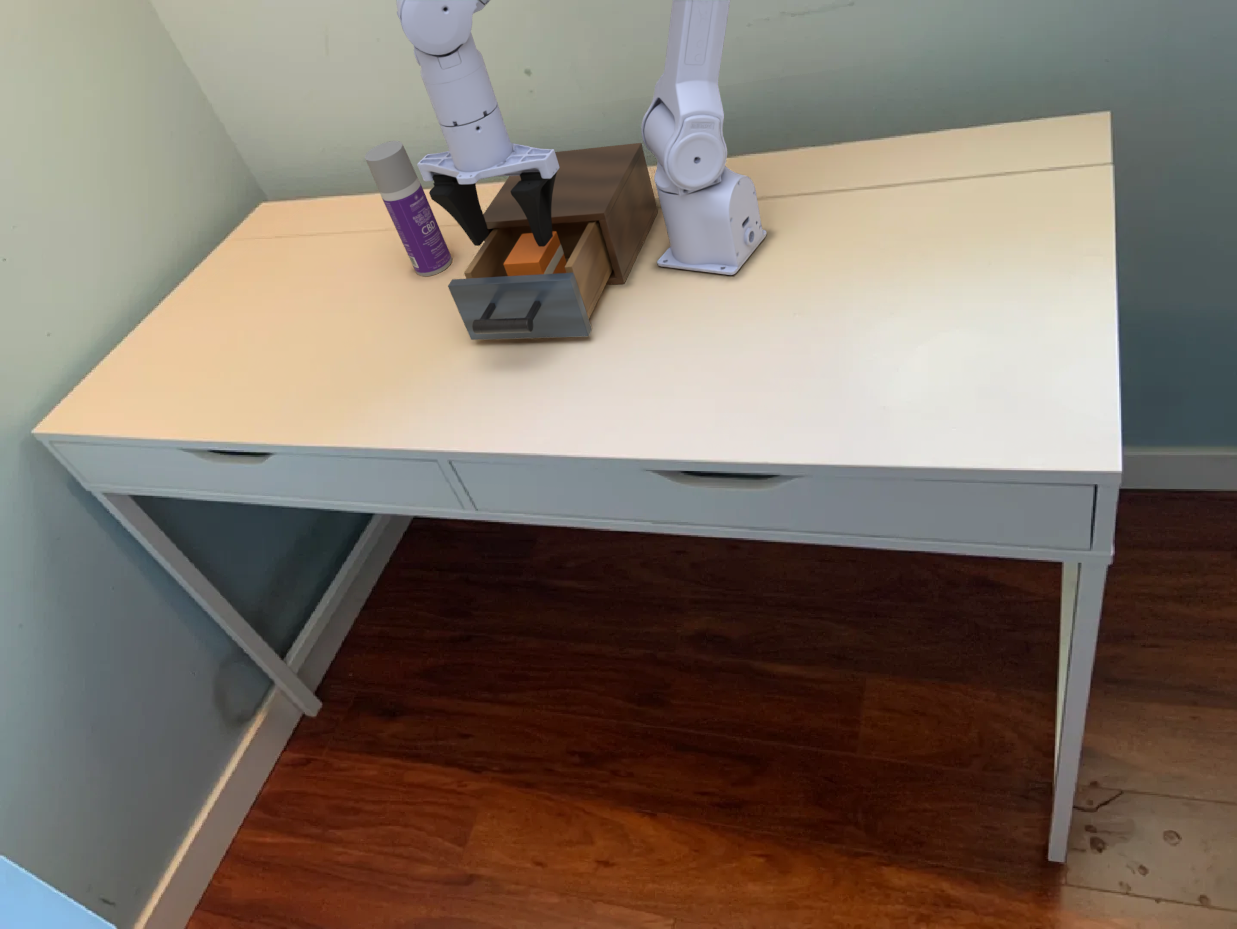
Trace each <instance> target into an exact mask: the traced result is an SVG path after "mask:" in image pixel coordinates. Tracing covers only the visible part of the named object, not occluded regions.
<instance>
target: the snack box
mask: <svg viewBox="0 0 1237 929" xmlns="http://www.w3.org/2000/svg"><path fill="white" fill-rule="evenodd" d="M566 264H567V262H566V259H565V256H564V252H563V249H562V246H561V244H560V241H559V238H558V235H557V232H556V231H553V237H552V238H551V239H550V241H549V242H548V243H547V244H546V246H544V247H539V246H538V244H537V243H536V241H535V239H534V236H533V233H526V234H522V235H521V236H520V238H519V240H518V241H517V243H516V244H515V246H514V248H513V249H512V251H511V252H510V254H509V256H508V257H507V259H506V260H505V262H504V264H503V265H504V267H505V270H506V273H507V275H508V276H521V275H539V274H556V273H566V270H565V265H566Z"/></svg>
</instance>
